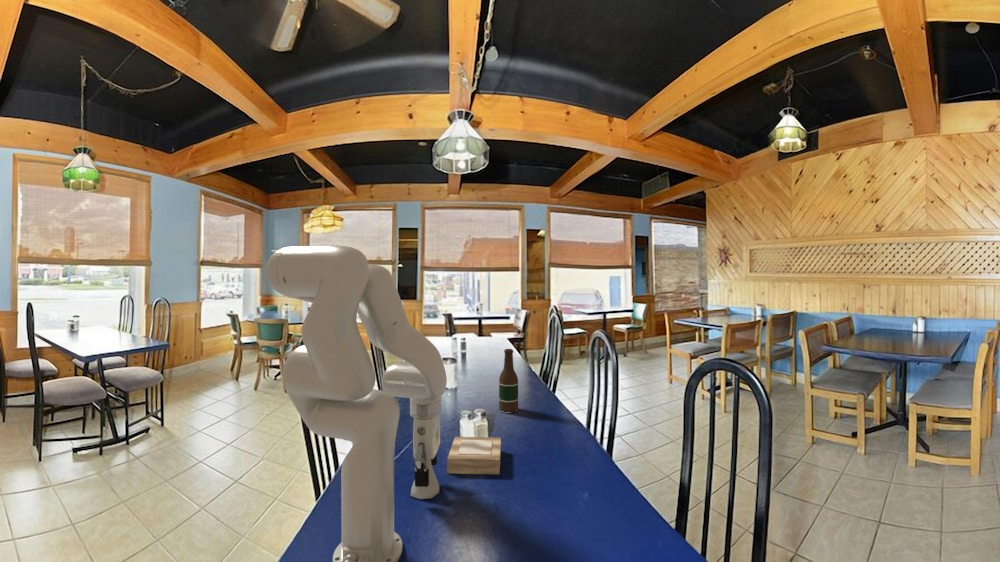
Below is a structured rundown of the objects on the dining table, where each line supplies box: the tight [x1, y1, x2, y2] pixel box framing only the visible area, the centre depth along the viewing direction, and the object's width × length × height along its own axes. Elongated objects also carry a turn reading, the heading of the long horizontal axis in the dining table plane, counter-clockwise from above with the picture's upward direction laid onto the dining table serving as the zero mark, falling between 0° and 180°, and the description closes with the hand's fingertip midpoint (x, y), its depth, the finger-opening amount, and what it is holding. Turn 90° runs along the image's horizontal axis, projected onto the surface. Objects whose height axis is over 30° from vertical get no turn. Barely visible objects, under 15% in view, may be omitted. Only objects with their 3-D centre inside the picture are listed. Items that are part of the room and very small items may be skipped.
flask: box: [409, 454, 440, 500], centre depth 97 cm, size 7×7×10 cm
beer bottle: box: [498, 348, 519, 412], centre depth 154 cm, size 8×8×24 cm
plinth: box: [446, 436, 502, 475], centre depth 112 cm, size 14×14×4 cm
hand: (426, 474), depth 97 cm, fingers open, 9 cm apart
